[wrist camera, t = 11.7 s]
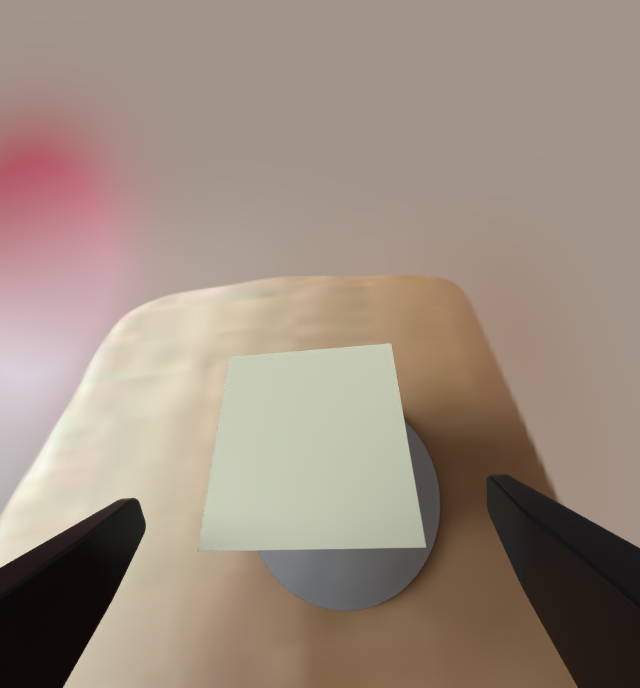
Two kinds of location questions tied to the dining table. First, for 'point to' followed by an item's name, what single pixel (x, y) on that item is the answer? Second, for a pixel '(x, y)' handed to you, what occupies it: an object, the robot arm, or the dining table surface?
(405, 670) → the dining table surface
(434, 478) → the slate coaster
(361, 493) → the block
